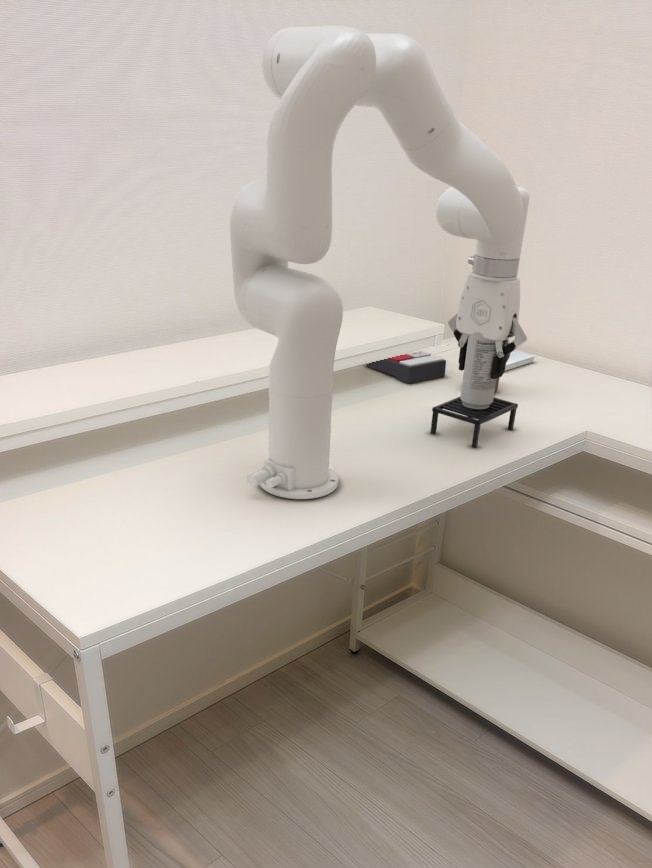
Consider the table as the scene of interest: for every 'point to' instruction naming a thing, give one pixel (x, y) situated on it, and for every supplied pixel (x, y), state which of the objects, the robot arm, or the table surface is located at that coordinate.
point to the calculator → (412, 367)
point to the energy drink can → (478, 372)
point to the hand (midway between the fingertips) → (480, 372)
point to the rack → (474, 414)
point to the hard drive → (518, 360)
